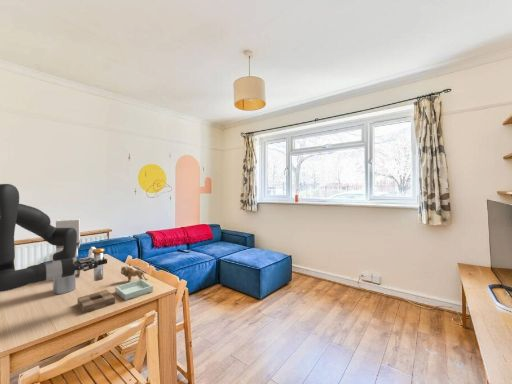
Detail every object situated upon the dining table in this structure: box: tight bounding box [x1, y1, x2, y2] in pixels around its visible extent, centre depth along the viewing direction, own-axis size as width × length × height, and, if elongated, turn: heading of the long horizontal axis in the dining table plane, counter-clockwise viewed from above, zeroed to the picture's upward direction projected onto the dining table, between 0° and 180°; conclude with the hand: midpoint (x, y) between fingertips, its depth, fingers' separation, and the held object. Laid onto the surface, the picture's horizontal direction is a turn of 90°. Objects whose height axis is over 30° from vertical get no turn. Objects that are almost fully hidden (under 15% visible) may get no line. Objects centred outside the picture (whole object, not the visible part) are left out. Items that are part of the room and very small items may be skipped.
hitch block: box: [77, 289, 116, 314], centre depth 111 cm, size 12×12×3 cm
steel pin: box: [93, 247, 105, 282], centre depth 111 cm, size 5×5×14 cm
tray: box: [114, 278, 154, 301], centre depth 123 cm, size 14×14×3 cm
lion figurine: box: [120, 265, 148, 283], centre depth 137 cm, size 15×5×9 cm, turn 98°
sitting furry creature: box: [86, 246, 97, 261], centre depth 169 cm, size 10×9×12 cm
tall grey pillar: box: [55, 217, 81, 279], centre depth 144 cm, size 11×11×35 cm
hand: (105, 260), depth 113 cm, fingers closed on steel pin, 3 cm apart
